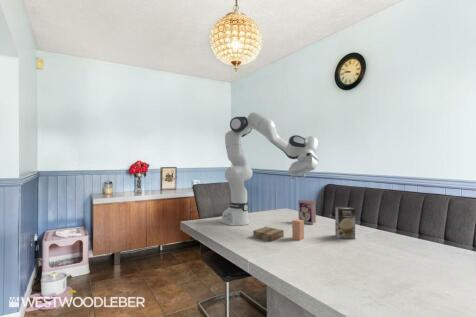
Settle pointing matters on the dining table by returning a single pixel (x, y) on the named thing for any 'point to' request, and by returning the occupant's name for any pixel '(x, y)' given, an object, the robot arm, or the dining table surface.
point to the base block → (268, 234)
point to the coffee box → (345, 222)
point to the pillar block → (298, 229)
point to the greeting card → (307, 211)
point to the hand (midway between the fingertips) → (297, 177)
